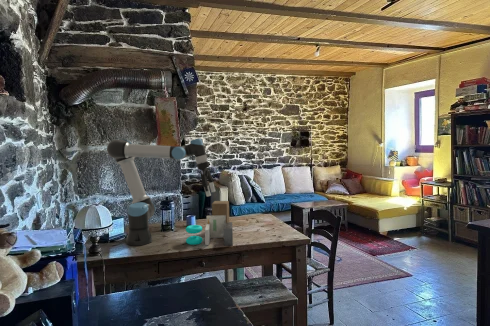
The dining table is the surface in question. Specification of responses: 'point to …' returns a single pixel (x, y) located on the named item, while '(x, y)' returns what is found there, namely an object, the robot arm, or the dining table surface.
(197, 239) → the donuts
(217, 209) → the wooden block
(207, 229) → the gauge plate
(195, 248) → the dining table surface
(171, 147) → the robot arm
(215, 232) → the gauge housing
